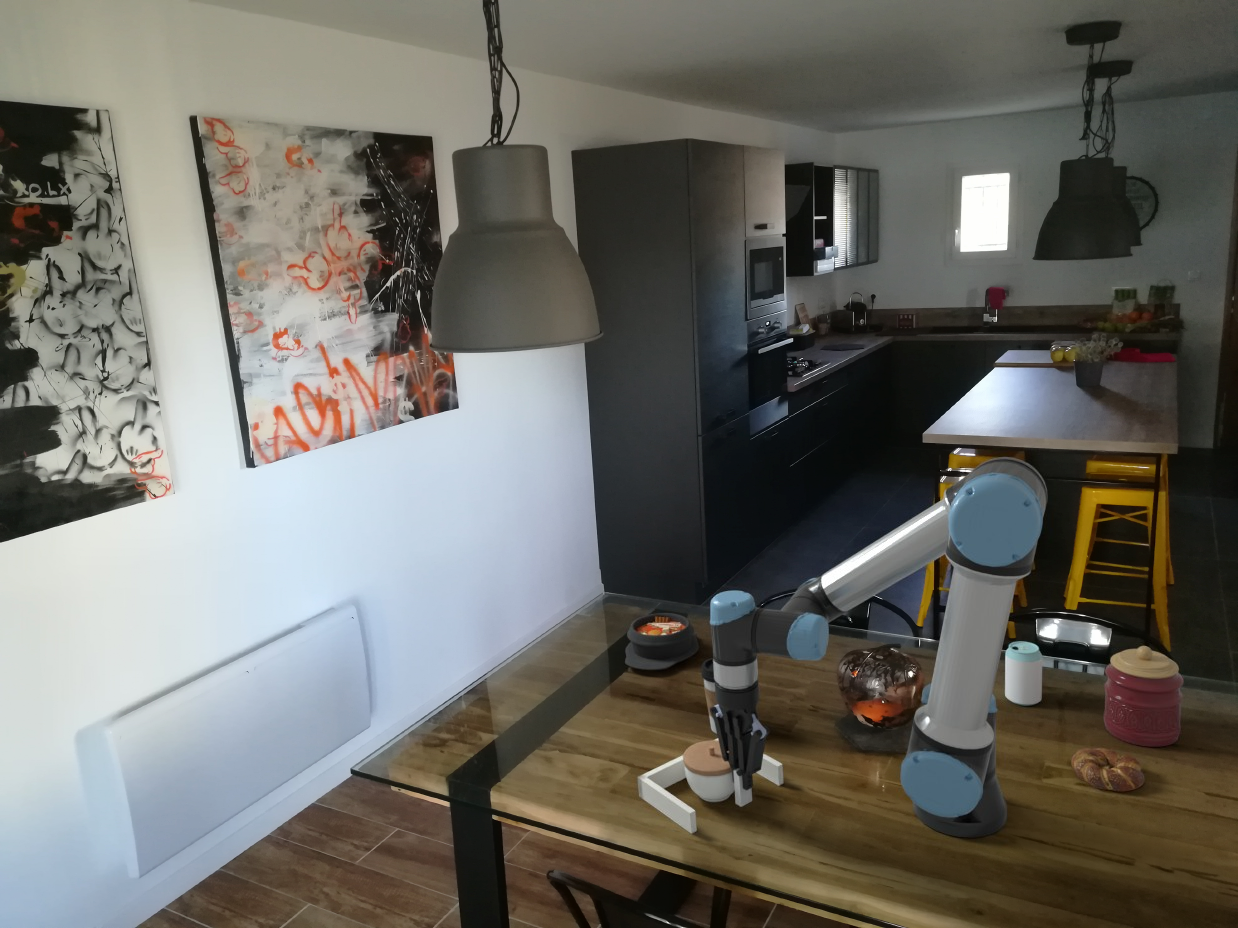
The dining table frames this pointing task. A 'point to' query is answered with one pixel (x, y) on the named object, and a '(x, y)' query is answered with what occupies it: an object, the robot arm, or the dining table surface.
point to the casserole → (660, 641)
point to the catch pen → (674, 771)
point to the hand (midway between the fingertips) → (743, 801)
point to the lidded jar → (708, 771)
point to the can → (1023, 673)
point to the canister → (1143, 698)
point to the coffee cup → (709, 688)
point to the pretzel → (1107, 769)
